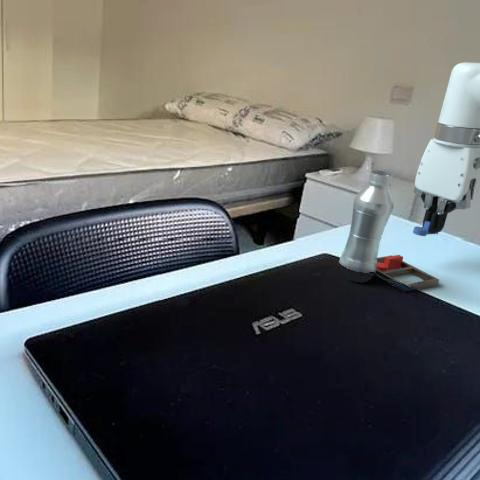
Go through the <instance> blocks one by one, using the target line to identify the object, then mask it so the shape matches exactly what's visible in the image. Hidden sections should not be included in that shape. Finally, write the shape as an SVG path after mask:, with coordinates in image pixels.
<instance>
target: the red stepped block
mask: <svg viewBox="0 0 480 480" xmlns="http://www.w3.org/2000/svg"><path fill="white" fill-rule="evenodd" d="M388 256H389V257H386V258H385V261H384V263H380V262H377V267H376V269H378V270H380V271H382V272H385V271H391V270H396V269H401V268H400V267H401V264H402V261H404V256H402V255H400V254H395V255H392V256H391V255H388Z"/></svg>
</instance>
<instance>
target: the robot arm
mask: <svg viewBox="0 0 480 480" xmlns="http://www.w3.org/2000/svg"><path fill="white" fill-rule="evenodd" d="M447 84H448V85H447V88H446V91H445V95H444V99H443V102H442V106H441V110H440V114H439V117H438V122H437V125H436V128H435V132H434V136H433V138H431V139H430V140H429V141H428V144H427V146H426V148H425V149H424V153H423V154H422V157H421V160H420V163H419V166H418V169H417V172H416V175H415V180H414V189H413V190H412V191H413V194H415V195H417V196H418V197H419V198H421V201H422V203H423V209H424V210H425V213H424V216H423V218H422V219H423V220H422V226H421V227H422V228H423V226H424V224H425V221H430V223H431V225H430V228H429V233H436V232H438V233H441V232H442V230H443V229H444V228H445V224H446V221H447V218H448V214H451V213H452V212H453V211H455V210H469V209H470V208H471V201H473V200H475V199H476V197H477V195H478V192H479V188H480V62H466V61H465V62H458V63H457V64H456V65H454V67H453V68H452V69H451V73H450V76H449V80H448V83H447Z"/></svg>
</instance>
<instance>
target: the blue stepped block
mask: <svg viewBox="0 0 480 480" xmlns="http://www.w3.org/2000/svg"><path fill="white" fill-rule="evenodd" d="M430 225H431V223H430V221H425V224H424V226H423V225H422V226H423V228H422V226H414V227H413V230H412V233H413V234H414V235H416V236H420V237H427V235H438V234H439V232H436V233H429V228H430Z"/></svg>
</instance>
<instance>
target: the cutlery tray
mask: <svg viewBox="0 0 480 480" xmlns="http://www.w3.org/2000/svg"><path fill="white" fill-rule="evenodd" d="M389 256H393V255H386V256H379V257H377V262H380V263H384V261H385V258H386V257H389ZM375 273H377V274H379V275H381V276H384V277H386V278H389V279H391V280H395V281H397V282H400V283H402V284H404V285H407V286H410V287H411V288H413V289H415V290H414V291H419V290H423V289H429V288H433V287H438V285H439V282H440V279H439V278H437V277H435V276H433V275H431V274H429V273H427V272H426V271H424V270H421V269H419V268H418V267H415V266H414V265H411V264H410V263H407V262H405V261H404V260H402V264H401V267H400V268H399V269H393V270H388V271H385V272H382V271H380V270H378V269H376V272H375ZM406 275H414V276H416V277H418V278H420V279H421V281H416V282H411V283H407V284H405V283H404V282H402V281H400V280H398V279H396V277H397V278H398V277H401V276H402V277H403V276H406Z"/></svg>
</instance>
